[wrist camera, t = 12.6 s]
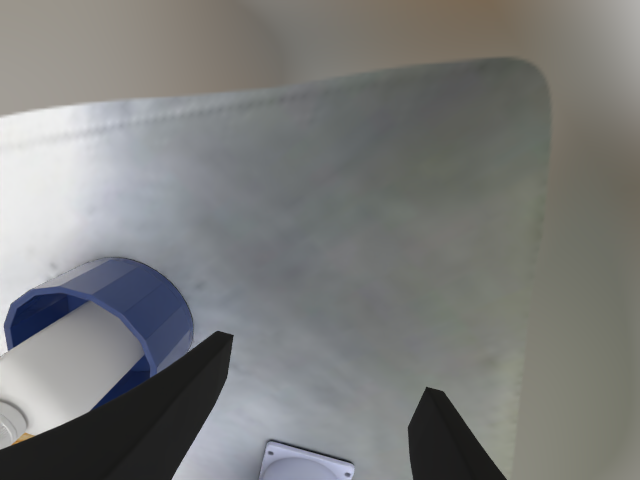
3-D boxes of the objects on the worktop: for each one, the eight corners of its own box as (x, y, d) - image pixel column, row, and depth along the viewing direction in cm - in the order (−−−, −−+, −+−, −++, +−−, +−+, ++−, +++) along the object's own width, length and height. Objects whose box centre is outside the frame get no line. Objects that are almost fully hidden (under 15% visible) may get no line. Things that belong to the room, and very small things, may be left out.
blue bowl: (188, 383, 26) (153, 435, 22) (73, 351, 26) (15, 396, 22) (198, 277, 22) (158, 313, 18) (65, 241, 23) (-7, 268, 18)
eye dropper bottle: (108, 349, 25) (-95, 525, 14) (90, 288, 23) (-162, 434, 12) (158, 352, 25) (-11, 538, 13) (143, 290, 23) (-67, 445, 11)
